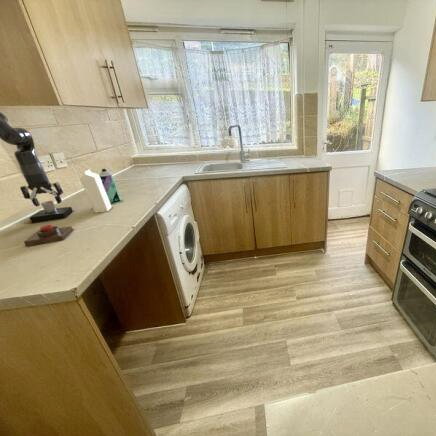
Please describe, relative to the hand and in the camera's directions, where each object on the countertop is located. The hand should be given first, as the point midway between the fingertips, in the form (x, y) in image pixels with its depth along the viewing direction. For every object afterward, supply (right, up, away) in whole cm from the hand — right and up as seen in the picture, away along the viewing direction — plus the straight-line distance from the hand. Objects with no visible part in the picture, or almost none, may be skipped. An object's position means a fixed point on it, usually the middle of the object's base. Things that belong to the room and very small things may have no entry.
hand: (48, 204), depth 122 cm
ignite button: (+20, -12, -21) cm, 31 cm away
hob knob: (0, -4, +1) cm, 4 cm away
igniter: (+20, -15, -19) cm, 32 cm away
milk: (+21, -3, +9) cm, 23 cm away
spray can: (+19, +2, +21) cm, 28 cm away
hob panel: (0, -6, +2) cm, 7 cm away
